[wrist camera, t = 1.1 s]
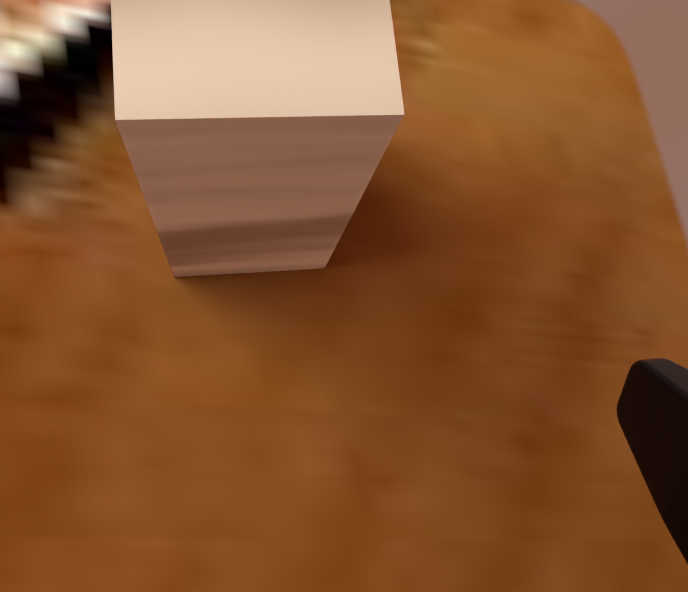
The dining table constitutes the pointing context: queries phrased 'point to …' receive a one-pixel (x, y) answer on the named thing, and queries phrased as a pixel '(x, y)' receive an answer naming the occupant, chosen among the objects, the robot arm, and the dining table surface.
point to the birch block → (254, 123)
